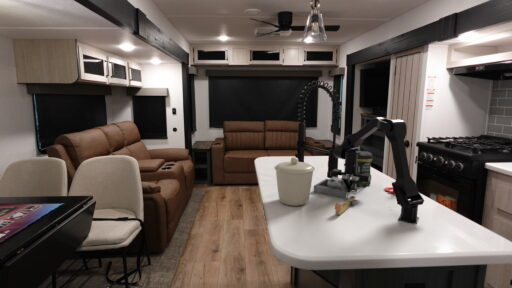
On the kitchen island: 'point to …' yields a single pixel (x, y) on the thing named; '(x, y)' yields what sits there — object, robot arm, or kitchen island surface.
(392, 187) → the tow hook
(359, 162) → the coffee jar
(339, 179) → the block
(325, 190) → the dock
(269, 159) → the kitchen island surface
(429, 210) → the kitchen island surface
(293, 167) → the canister
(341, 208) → the lock bar
